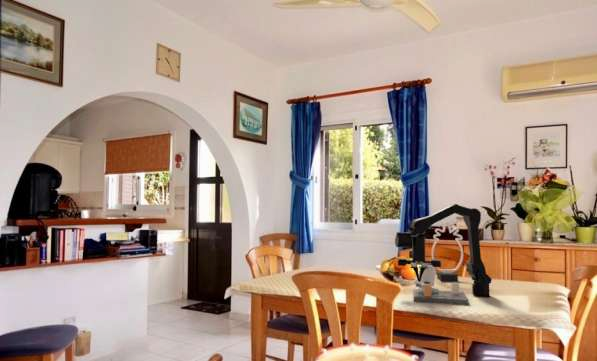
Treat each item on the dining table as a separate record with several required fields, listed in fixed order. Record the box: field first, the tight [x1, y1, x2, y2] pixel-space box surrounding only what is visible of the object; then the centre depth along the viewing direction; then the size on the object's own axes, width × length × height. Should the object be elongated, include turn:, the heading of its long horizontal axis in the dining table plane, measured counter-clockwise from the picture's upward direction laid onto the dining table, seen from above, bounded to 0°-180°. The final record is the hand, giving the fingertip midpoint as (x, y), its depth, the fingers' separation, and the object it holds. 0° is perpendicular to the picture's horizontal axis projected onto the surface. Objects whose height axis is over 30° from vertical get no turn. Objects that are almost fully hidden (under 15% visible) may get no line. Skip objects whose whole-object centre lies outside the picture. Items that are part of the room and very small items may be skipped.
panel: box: [412, 281, 469, 306], centre depth 190 cm, size 22×16×6 cm
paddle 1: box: [424, 284, 432, 297], centre depth 188 cm, size 3×3×5 cm
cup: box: [418, 265, 437, 290], centre depth 210 cm, size 9×9×12 cm
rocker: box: [415, 281, 440, 292], centre depth 196 cm, size 10×4×1 cm, turn 75°
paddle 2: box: [450, 281, 460, 294], centre depth 193 cm, size 3×3×5 cm
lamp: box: [430, 221, 464, 283], centre depth 236 cm, size 17×9×32 cm, turn 85°
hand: (419, 281), depth 196 cm, fingers closed
